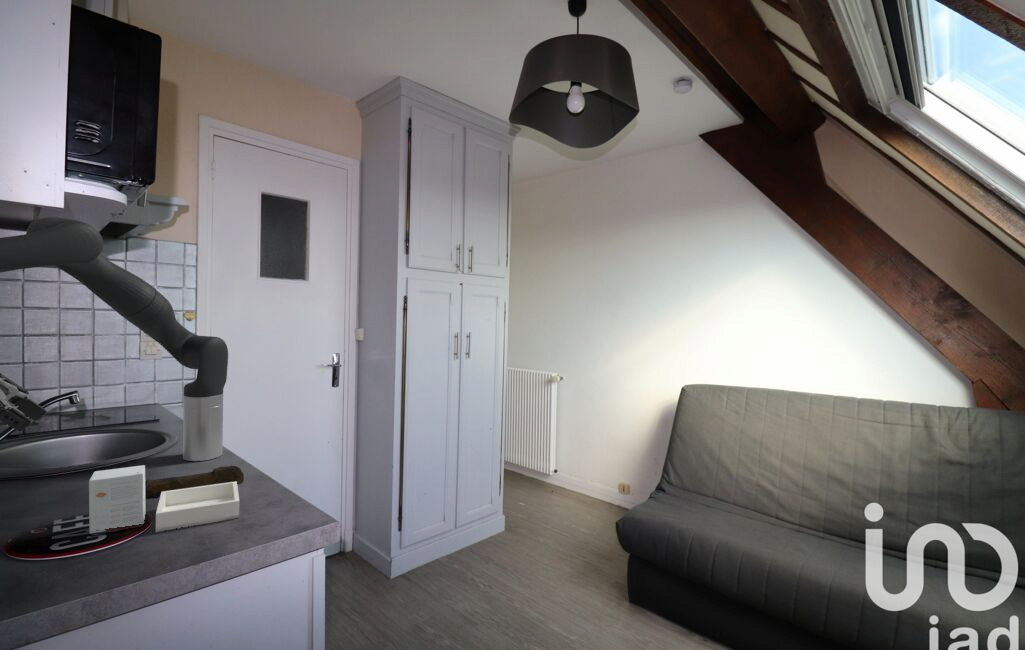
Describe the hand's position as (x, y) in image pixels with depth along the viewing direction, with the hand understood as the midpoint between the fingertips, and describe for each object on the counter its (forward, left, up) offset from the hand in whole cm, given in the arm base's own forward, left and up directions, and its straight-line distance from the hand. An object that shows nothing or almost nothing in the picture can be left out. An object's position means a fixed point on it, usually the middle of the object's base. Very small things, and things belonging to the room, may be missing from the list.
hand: (34, 421), depth 86 cm
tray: (0, +25, -21) cm, 32 cm away
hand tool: (-15, +24, -22) cm, 36 cm away
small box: (0, +12, -21) cm, 24 cm away
